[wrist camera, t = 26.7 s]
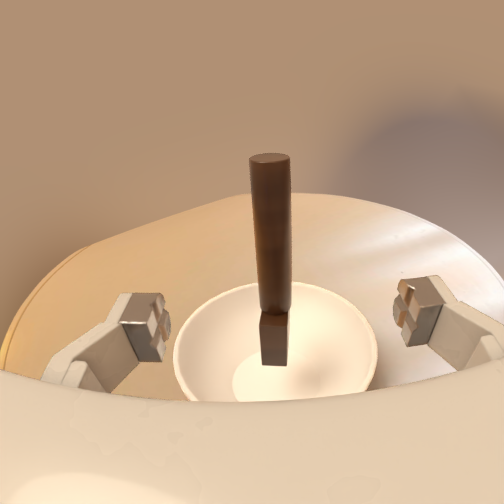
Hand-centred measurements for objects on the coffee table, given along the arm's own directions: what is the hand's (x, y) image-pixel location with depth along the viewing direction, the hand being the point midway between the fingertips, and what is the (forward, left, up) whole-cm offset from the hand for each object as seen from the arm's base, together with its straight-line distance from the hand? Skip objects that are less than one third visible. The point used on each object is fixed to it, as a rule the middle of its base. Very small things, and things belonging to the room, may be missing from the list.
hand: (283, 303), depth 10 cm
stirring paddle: (+10, -6, -15) cm, 19 cm away
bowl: (+11, -6, -22) cm, 25 cm away
